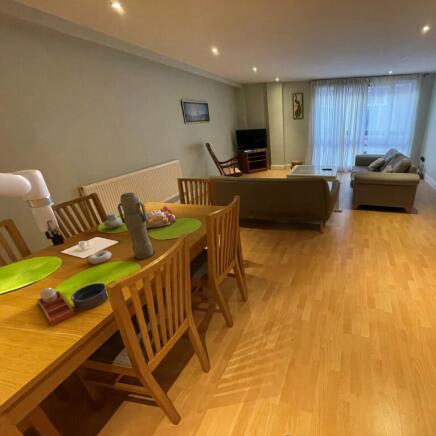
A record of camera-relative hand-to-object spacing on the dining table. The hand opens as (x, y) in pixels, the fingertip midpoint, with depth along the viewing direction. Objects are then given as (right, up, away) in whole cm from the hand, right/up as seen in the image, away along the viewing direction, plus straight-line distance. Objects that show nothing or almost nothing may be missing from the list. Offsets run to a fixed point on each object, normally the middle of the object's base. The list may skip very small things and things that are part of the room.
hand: (55, 241), depth 100 cm
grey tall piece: (+17, -11, +33) cm, 38 cm away
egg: (0, -25, -2) cm, 25 cm away
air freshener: (-25, +3, +67) cm, 72 cm away
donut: (-4, -13, +28) cm, 31 cm away
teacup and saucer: (-21, -7, +42) cm, 47 cm away
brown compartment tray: (+5, -26, -5) cm, 27 cm away
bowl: (+16, -25, -1) cm, 29 cm away
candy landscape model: (+1, +7, +75) cm, 76 cm away
